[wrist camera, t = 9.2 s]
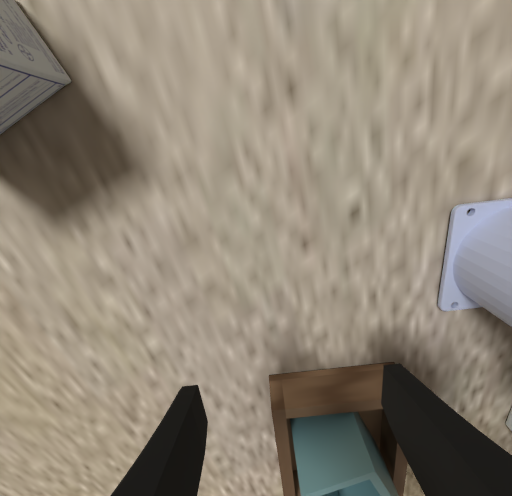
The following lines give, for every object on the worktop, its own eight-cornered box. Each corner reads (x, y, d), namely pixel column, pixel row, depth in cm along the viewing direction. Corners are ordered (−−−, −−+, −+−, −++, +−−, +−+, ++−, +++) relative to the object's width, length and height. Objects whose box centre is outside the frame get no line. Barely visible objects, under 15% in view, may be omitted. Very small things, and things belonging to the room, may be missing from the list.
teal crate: (344, 389, 22) (375, 471, 17) (376, 443, 25) (413, 530, 19) (289, 411, 23) (301, 496, 18) (326, 461, 26) (347, 550, 20)
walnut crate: (393, 361, 22) (416, 395, 19) (385, 460, 27) (402, 500, 24) (269, 375, 22) (271, 410, 19) (282, 470, 27) (285, 511, 24)
